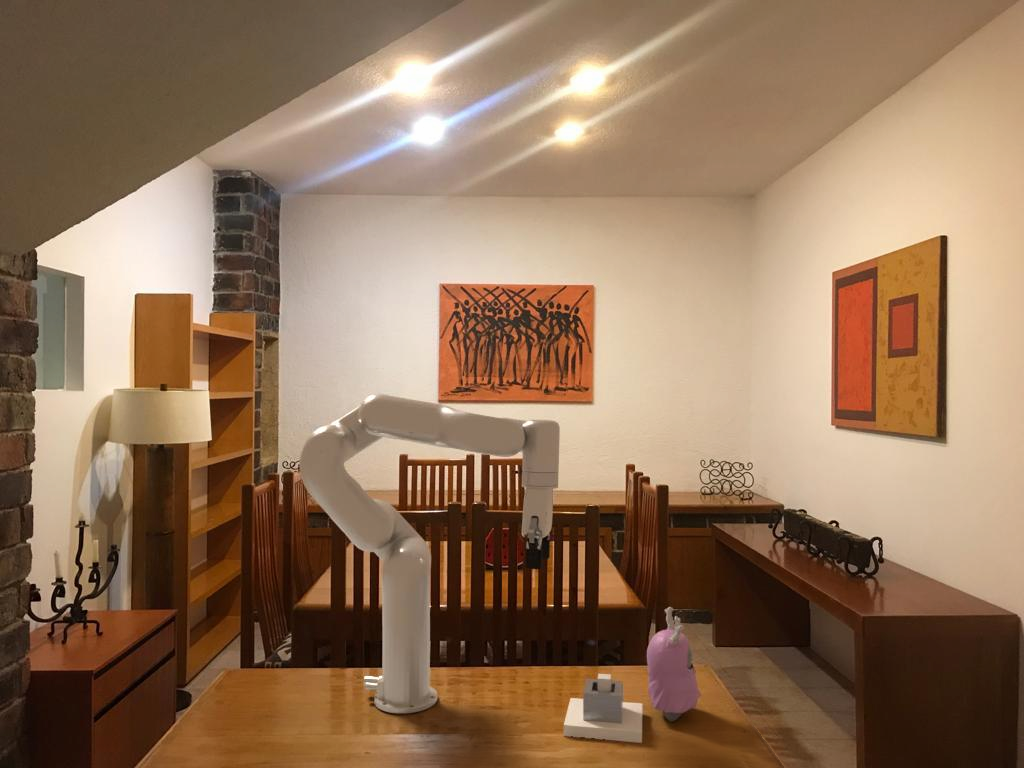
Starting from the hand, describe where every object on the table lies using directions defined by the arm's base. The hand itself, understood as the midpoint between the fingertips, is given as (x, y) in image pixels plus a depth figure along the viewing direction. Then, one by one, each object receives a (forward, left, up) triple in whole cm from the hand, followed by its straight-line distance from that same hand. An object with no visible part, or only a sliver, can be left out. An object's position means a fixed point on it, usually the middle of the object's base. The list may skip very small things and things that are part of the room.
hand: (537, 563), depth 150 cm
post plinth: (+14, -10, -27) cm, 32 cm away
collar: (+14, -10, -25) cm, 31 cm away
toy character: (+27, -3, -28) cm, 39 cm away
